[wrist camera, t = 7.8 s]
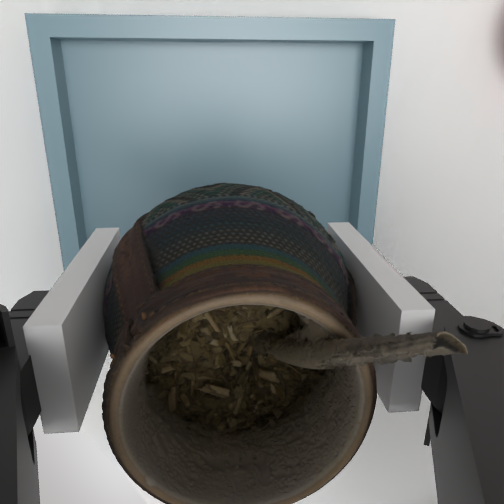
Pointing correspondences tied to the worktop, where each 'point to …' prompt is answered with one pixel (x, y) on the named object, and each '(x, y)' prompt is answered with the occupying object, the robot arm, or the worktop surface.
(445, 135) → the worktop surface
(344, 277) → the mate gourd
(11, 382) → the robot arm
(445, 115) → the worktop surface
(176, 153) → the slate tray
